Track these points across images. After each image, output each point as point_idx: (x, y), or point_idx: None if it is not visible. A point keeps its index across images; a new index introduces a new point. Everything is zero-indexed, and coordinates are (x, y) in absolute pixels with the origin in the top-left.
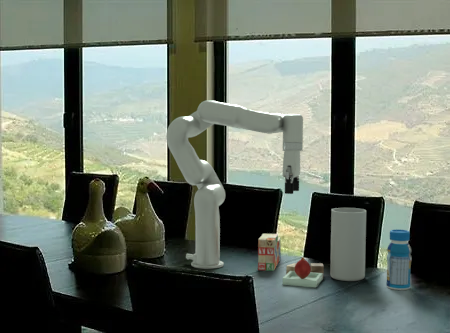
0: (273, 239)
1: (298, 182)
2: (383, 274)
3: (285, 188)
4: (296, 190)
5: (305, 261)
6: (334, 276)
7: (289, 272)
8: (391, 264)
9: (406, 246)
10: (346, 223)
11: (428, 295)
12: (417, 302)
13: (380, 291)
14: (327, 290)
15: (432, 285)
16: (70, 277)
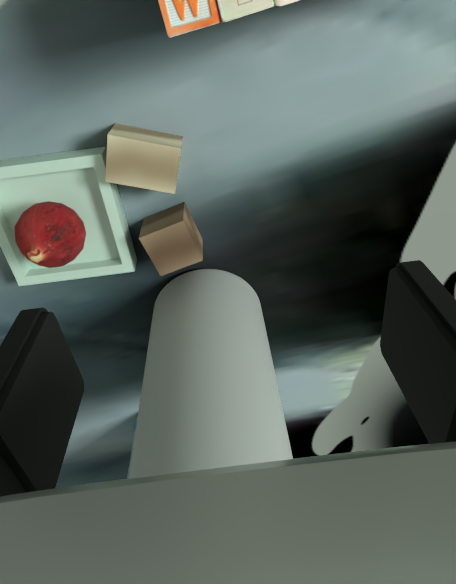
0: (191, 19)
1: (433, 439)
2: (291, 373)
3: (2, 363)
4: (381, 333)
5: (39, 262)
6: (159, 294)
7: (69, 162)
8: (129, 472)
9: None
10: None
11: None
12: (62, 467)
13: (104, 404)
14: (20, 308)
15: None
16: None
